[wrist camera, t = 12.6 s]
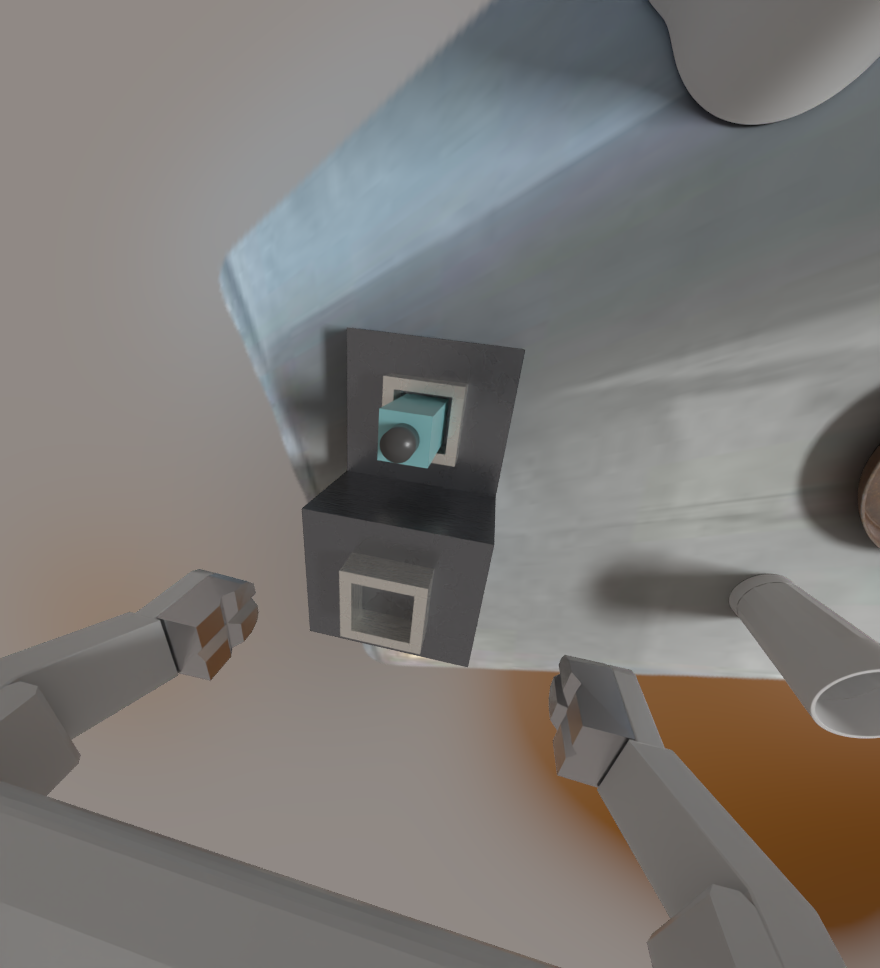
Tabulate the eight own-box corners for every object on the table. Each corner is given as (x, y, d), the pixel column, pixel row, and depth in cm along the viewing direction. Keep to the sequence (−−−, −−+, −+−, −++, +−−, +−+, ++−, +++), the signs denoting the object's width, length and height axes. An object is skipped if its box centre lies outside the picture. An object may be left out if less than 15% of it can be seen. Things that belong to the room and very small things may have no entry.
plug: (407, 393, 31) (369, 413, 22) (448, 399, 31) (427, 422, 22) (404, 441, 33) (367, 479, 24) (442, 448, 33) (421, 488, 24)
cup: (754, 635, 38) (855, 751, 28) (704, 599, 38) (786, 703, 27) (825, 595, 35) (970, 708, 24) (770, 554, 34) (895, 652, 24)
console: (359, 328, 33) (264, 319, 19) (523, 349, 31) (539, 353, 18) (357, 559, 44) (296, 652, 31) (476, 583, 42) (465, 692, 29)
